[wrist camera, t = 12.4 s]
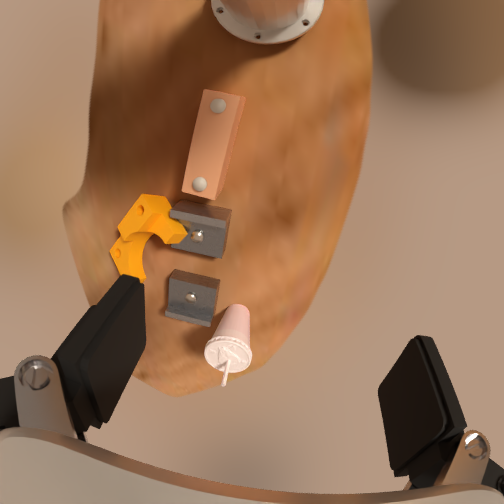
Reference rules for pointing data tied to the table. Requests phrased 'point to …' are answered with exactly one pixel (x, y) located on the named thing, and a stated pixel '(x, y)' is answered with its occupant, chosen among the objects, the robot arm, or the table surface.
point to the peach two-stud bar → (212, 143)
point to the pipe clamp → (144, 233)
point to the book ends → (203, 242)
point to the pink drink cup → (230, 342)
